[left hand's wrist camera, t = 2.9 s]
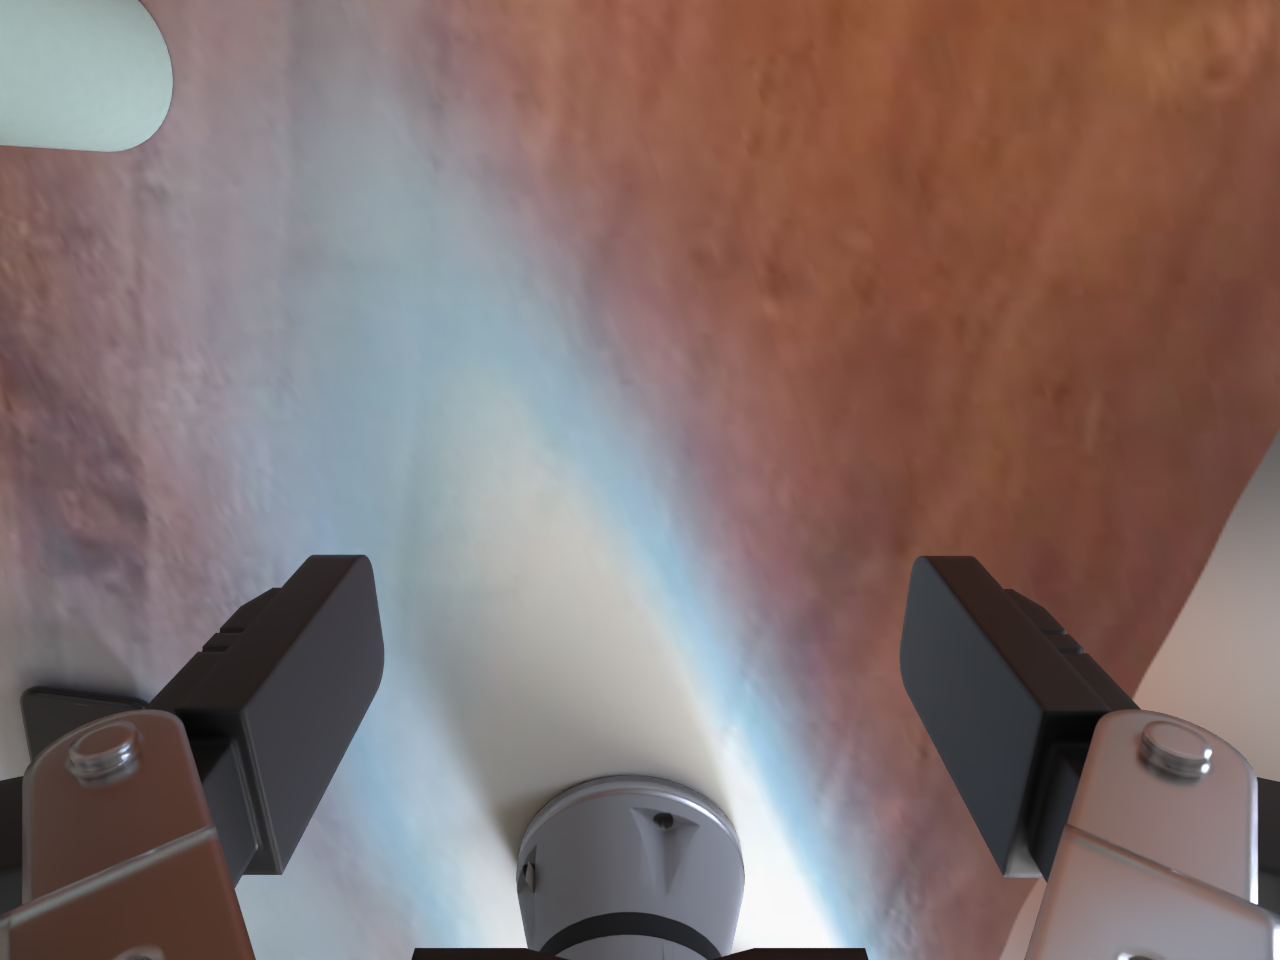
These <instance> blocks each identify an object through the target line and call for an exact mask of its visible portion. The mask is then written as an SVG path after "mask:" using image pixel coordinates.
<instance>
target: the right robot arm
mask: <svg viewBox="0 0 1280 960" xmlns="http://www.w3.org/2000/svg"><path fill="white" fill-rule="evenodd" d="M744 879H745V874H744V865H743V858H742V852H741V846H740V842H739V839H738V836H737V834H736V831H735V829H734V827H733V826H732V824H731V822H730V821H729V819H728V818H727V817H726V816H725V814H724V813H723V812H722V811H721V810H720V809H719V808H718V807H717V806H716V805H715V804H714V803H712V802H711V801H710V800H709V799H707V798H706V797H704V796H703V795H701V794H699V793H698V792H696V791H694V790H692V789H690V788H688V787H686V786H683V785H681V784H678V783H675V782H672V781H669V780H665V779H660V778H655V777H648V776H636V775H626V776H612V777H606V778H600V779H596V780H592V781H588V782H585V783H583V784H580V785H577V786H575V787H573V788H571V789H568V790H567V791H565V792H563V793H561V794H559V795H558V796H557V797H555V798H554V799H552V800H551V801H550V802H548V803H547V804H546V805H545V806H544V807H543V808H542V809H541V810H540V811H539V812H538V813H537V814H536V816H535V817H534V818H533V819H532V821H531V822H530V824H529V826H528V828H527V829H526V832H525V834H524V836H523V840H522V843H521V848H520V854H519V859H518V865H517V873H516V881H517V893H518V899H519V904H520V910H521V915H522V920H523V925H524V931H525V936H526V941H527V946H528V949H531V950H534V951H538V952H542V953H546V954H550V955H553V956H557V957H561V958H565V959H569V960H711V959H715V958H719V957H723V956H727V955H730V954H731V949H732V944H733V940H734V935H735V931H736V926H737V921H738V916H739V912H740V907H741V903H742V898H743V891H744Z"/></svg>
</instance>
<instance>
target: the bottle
mask: <svg viewBox="0 0 1280 960" xmlns="http://www.w3.org/2000/svg"><path fill="white" fill-rule="evenodd" d="M172 89H173V75H172V67H171V61H170V57H169V53H168V50H167V46H166V44H165V41H164V39H163V37H162V34H161V32H160V31H159V29H158V27H157V25H156V23H155V22H154V20H153V19H152V17H151V16H150V14H149V13H148V11H147V10H146V9H145V8H144V6H143V5H142V4H141V3H140V2H139V1H138V0H0V145H7V146H23V147H40V148H56V149H72V150H88V151H105V152H114V151H123V150H126V149H130V148H133V147H135V146H137V145H139V144H141V143H143V142H144V141H146V140H147V139H149V138H150V137H151V136H152V135H153V134H154V133H155V132H156V131H157V129H158V128H159V127H160V125H161V124H162V122H163V120H164V119H165V117H166V115H167V112H168V109H169V106H170V102H171V98H172Z"/></svg>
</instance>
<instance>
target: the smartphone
mask: <svg viewBox="0 0 1280 960" xmlns="http://www.w3.org/2000/svg"><path fill="white" fill-rule="evenodd" d="M20 704H21V710H22V716H23V721H24V727H25V732H26V738H27V743H28V749H29V754H30V760H31V762H32V761H33V760H34V758H35V757H36V756H37V755H38V754H39V753H40V752H41V751H42V750H44V749H45V748H46V747H47V746H49V745H50V744H51V743H53V742H54V741H56V740H57V739H59V738H60V737H62V736H63V735H65V734H67V733H69V732H70V731H72V730H74V729H76V728H78V727H80V726H82V725H85V724H87V723H89V722H92V721H94V720H97V719H100V718H103V717H106V716H109V715H113V714H117V713H121V712H126V711H133V710H143V709H144V708H145V707H146V706H147V705H148V703H147V702H146V701H144V700H142V699H138V698H133V697H125V696H118V695H110V694H102V693H94V692H85V691H77V690H69V689H61V688H53V687H44V686H35V687H31V688H29V689H27V690H26V691H24V693H23V694H22V696H21V699H20Z"/></svg>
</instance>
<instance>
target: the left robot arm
mask: <svg viewBox="0 0 1280 960" xmlns="http://www.w3.org/2000/svg"><path fill="white" fill-rule="evenodd" d="M383 667H384V644H383V637H382V630H381V623H380V616H379V609H378V602H377V595H376V588H375V581H374V574H373V569H372V565H371V562H370V560H369V559H368V557H367V556H365V555H312V556H310V557H309V558H308V559H307V560H306V561H305V562H304V563H303V564H302V565H301V566H300V568H299V569H298V570H297V571H296V572H295V573H294V574H293V575H292V577H291V578H290V579H289V580H288V581H287V582H286V583H285V584H284V586H283V587H282V588H272V589H270V590H268V591H267V592H265V593H263V594H262V595H260V596H258V597H256V598H255V599H253V600H251V601H250V602H248V603H246V604H244V605H243V606H241V607H240V608H239V609H238V610H237V611H236V612H235V613H234V614H233V615H232V616H231V617H230V619H229V620H228V621H227V622H226V623H225V624H224V625H223V626H222V627H221V628H220V633H215V634H214V635H213V636H212V638H211V639H210V640H209V641H208V642H207V643H206V644H205V645H204V646H203V650H202V652H197V653H196V654H195V656H194V657H193V658H192V659H191V660H190V661H189V662H188V663H187V664H186V665H185V666H184V667H183V668H182V669H181V670H180V671H179V672H178V673H177V675H176V676H175V677H174V678H173V679H172V680H171V681H170V682H169V683H168V684H167V685H166V686H165V687H164V688H163V689H162V690H161V691H160V693H159V694H158V695H157V696H156V697H155V698H154V699H153V700H152V701H151V702H150V703H149V704H148V705H147V706H146V707H145V708H144V709H143V710H133V711H126V712H121V713H117V714H113V715H109V716H106V717H103V718H100V719H97V720H94V721H92V722H89V723H87V724H85V725H82V726H80V727H78V728H76V729H74V730H72V731H70V732H69V733H67V734H65V735H63V736H62V737H60V738H59V739H57V740H56V741H54V742H53V743H51V744H50V745H49V746H47V747H46V748H45V749H44V750H42V751H41V752H40V753H39V754H38V755H37V756H36V757H35V758H34V760H33V761H32V762H31V764H30V765H29V766H28V768H27V770H26V772H25V774H24V776H21V777H17V778H12V779H7V780H2V781H0V960H256V959H255V956H254V952H253V949H252V946H251V942H250V939H249V936H248V932H247V929H246V926H245V922H244V919H243V916H242V912H241V909H240V906H239V902H238V899H237V896H236V892H235V887H236V885H237V883H238V882H239V880H240V878H241V876H242V875H282V873H283V871H284V869H285V868H286V866H287V864H288V862H289V860H290V858H291V856H292V854H293V852H294V850H295V848H296V846H297V844H298V842H299V841H300V839H301V837H302V835H303V833H304V831H305V829H306V827H307V825H308V823H309V821H310V819H311V817H312V816H313V814H314V812H315V810H316V808H317V806H318V804H319V802H320V800H321V798H322V796H323V794H324V792H325V790H326V789H327V787H328V785H329V783H330V781H331V779H332V777H333V775H334V773H335V771H336V769H337V767H338V765H339V764H340V762H341V760H342V758H343V756H344V754H345V752H346V750H347V748H348V746H349V744H350V742H351V740H352V738H353V737H354V735H355V733H356V731H357V729H358V727H359V725H360V723H361V721H362V719H363V717H364V715H365V713H366V711H367V710H368V708H369V706H370V704H371V702H372V700H373V698H374V696H375V694H376V692H377V690H378V688H379V685H380V682H381V678H382V674H383ZM900 669H901V675H902V680H903V684H904V687H905V689H906V692H907V694H908V696H909V697H910V699H911V701H912V703H913V705H914V707H915V709H916V711H917V713H918V715H919V717H920V718H921V720H922V722H923V724H924V726H925V728H926V730H927V732H928V734H929V736H930V737H931V739H932V741H933V743H934V745H935V747H936V749H937V751H938V753H939V755H940V756H941V758H942V760H943V762H944V764H945V766H946V768H947V770H948V772H949V774H950V776H951V777H952V779H953V781H954V783H955V785H956V787H957V789H958V791H959V793H960V795H961V796H962V798H963V800H964V802H965V804H966V806H967V808H968V810H969V812H970V814H971V815H972V817H973V819H974V821H975V823H976V825H977V827H978V829H979V831H980V833H981V835H982V836H983V838H984V840H985V842H986V844H987V846H988V848H989V850H990V852H991V854H992V855H993V857H994V859H995V861H996V863H997V865H998V867H999V869H1000V871H1001V873H1002V874H1003V876H1004V877H1044V879H1045V880H1046V882H1047V886H1046V889H1045V892H1044V896H1043V899H1042V902H1041V906H1040V909H1039V912H1038V916H1037V919H1036V922H1035V926H1034V929H1033V932H1032V936H1031V939H1030V942H1029V946H1028V949H1027V952H1026V956H1025V959H1024V960H1280V782H1277V781H1272V780H1267V779H1263V778H1259V777H1256V774H1255V772H1254V770H1253V768H1252V766H1251V765H1250V764H1249V762H1248V761H1247V760H1246V758H1245V757H1244V756H1243V755H1242V754H1241V753H1240V752H1239V751H1237V750H1236V749H1235V748H1234V747H1233V746H1231V745H1230V744H1229V743H1227V742H1226V741H1224V740H1223V739H1221V738H1220V737H1218V736H1217V735H1215V734H1213V733H1211V732H1210V731H1208V730H1206V729H1204V728H1202V727H1200V726H1198V725H1195V724H1193V723H1191V722H1188V721H1186V720H1183V719H1180V718H1177V717H1174V716H1171V715H1167V714H1163V713H1159V712H1154V711H1147V710H1141V709H1140V708H1139V707H1138V706H1137V705H1136V704H1135V703H1134V702H1133V701H1132V699H1131V698H1130V697H1129V696H1128V695H1127V694H1126V693H1125V692H1124V691H1123V690H1122V689H1121V688H1120V687H1119V686H1118V685H1117V684H1116V683H1115V682H1114V681H1113V680H1112V679H1111V677H1110V676H1109V675H1108V674H1107V673H1106V672H1105V671H1104V670H1103V669H1102V668H1101V667H1100V666H1099V665H1098V664H1097V663H1096V662H1095V661H1094V660H1093V659H1092V658H1091V657H1090V655H1089V654H1084V653H1083V648H1082V647H1081V646H1080V645H1079V644H1078V643H1077V642H1076V641H1075V640H1074V639H1073V638H1072V637H1071V636H1070V635H1066V634H1065V629H1064V628H1063V627H1062V626H1061V625H1060V624H1059V623H1058V622H1057V621H1056V620H1055V619H1054V618H1053V617H1052V616H1051V615H1050V614H1049V613H1048V611H1047V610H1046V609H1045V608H1043V607H1042V606H1040V605H1038V604H1036V603H1035V602H1033V601H1031V600H1030V599H1028V598H1026V597H1024V596H1023V595H1021V594H1019V593H1017V592H1016V591H1014V590H1012V589H1003V588H1002V587H1001V586H1000V585H999V584H998V583H997V581H996V580H995V579H994V578H993V577H992V576H991V575H990V574H989V573H988V571H987V570H986V569H985V568H984V567H983V566H982V565H981V564H980V563H979V561H978V560H977V559H976V558H974V557H972V556H919V557H918V558H917V559H916V560H915V562H914V564H913V567H912V571H911V576H910V583H909V590H908V597H907V603H906V610H905V617H904V624H903V631H902V637H901V644H900ZM412 960H569V959H565V958H561V957H557V956H553V955H550V954H546V953H542V952H538V951H534V950H531V949H527V948H415V950H414V953H413V957H412ZM711 960H868V957H867V953H866V950H865V948H753V949H749V950H746V951H742V952H738V953H734V954H730V955H727V956H723V957H719V958H715V959H711Z"/></svg>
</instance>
